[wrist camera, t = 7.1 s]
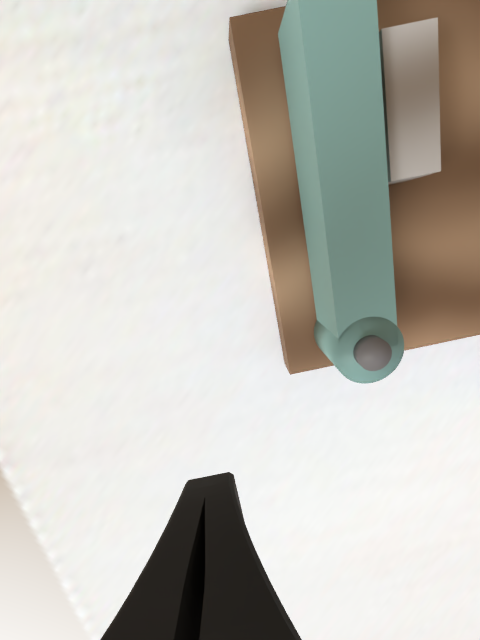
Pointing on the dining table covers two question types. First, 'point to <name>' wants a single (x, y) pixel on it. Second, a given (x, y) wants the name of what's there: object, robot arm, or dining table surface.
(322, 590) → the dining table surface
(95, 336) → the dining table surface
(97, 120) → the dining table surface
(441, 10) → the wooden board
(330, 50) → the folding leg
